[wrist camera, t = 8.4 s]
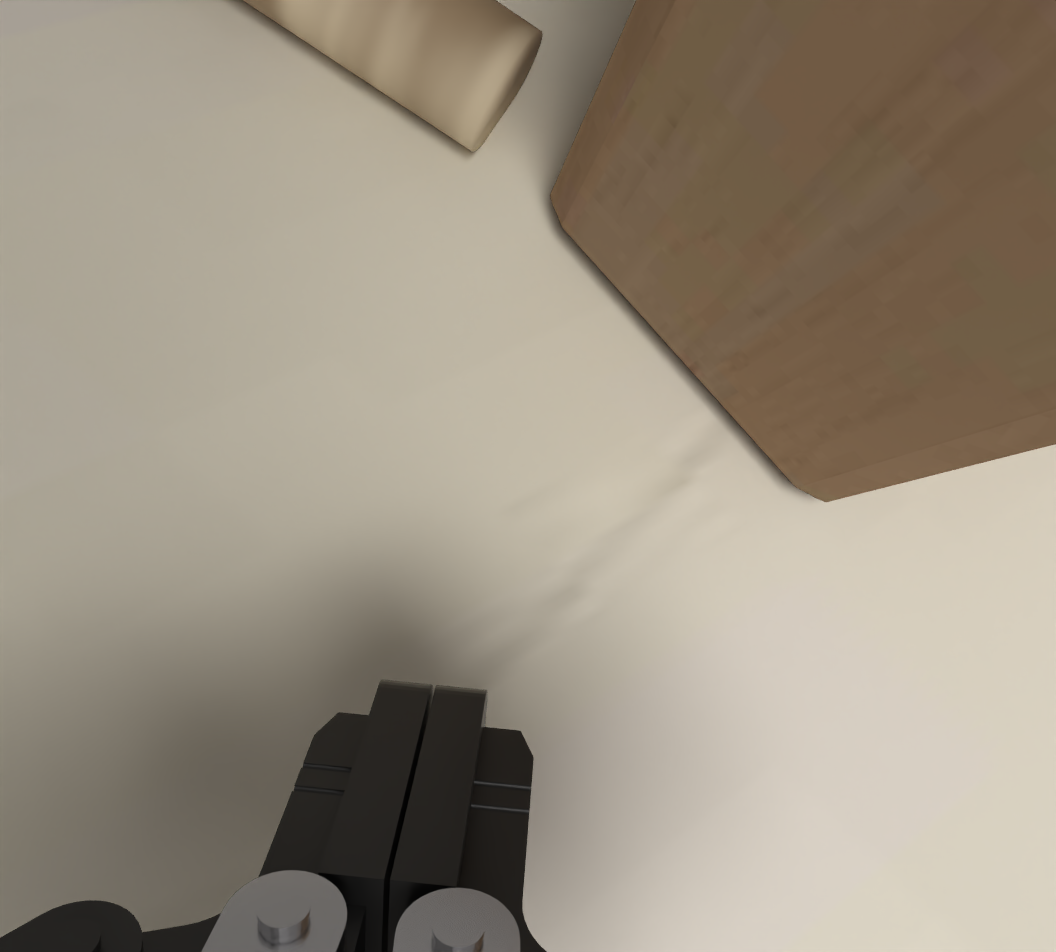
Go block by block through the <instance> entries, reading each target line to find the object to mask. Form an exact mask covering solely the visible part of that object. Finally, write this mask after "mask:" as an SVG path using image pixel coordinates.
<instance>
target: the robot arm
mask: <svg viewBox="0 0 1056 952" xmlns="http://www.w3.org/2000/svg"><path fill="white" fill-rule="evenodd" d="M486 707H487V690H479V689H469V688H459V687H450V686H440V685H437V686H436V688H435V691H434V695H433V685H428V684H418V683H408V682H399V681H389V680H381V681H380V683H379V686H378V689H377V692H376V695H375V698H374V701H373V705H372V708H371V711H370V714H369V715H359V714H349V713H340V712H339V713H338V714H336V715H335V716H334V717H333V718H332V719H331V720H330V721H329V722H328V723H327V724H326V725H325V726H323V727H322V728H321V729H320V730H319V731H318V732H317V733H316V734H315V735H314V737H313V740H312V742H311V745H310V747H309V750H308V752H307V755H306V758H305V760H304V764H303V768H301V770H300V773H299V775H298V778H297V781H296V783H295V788H294V791H292V793H291V796H290V798H289V801H288V804H287V806H286V809H285V811H284V814H283V816H282V819H281V821H280V824H279V827H278V829H277V832H276V834H275V837H274V839H273V842H272V844H271V847H270V850H269V852H268V855H267V857H266V860H265V862H264V865H263V867H262V870H261V873H260V875H259V877H258V878H256V879H254V880H252V881H250V882H249V883H247V884H246V885H244V886H243V887H241V888H240V889H239V890H238V891H237V892H236V893H235V894H234V895H233V896H232V897H231V898H230V899H229V901H228V902H227V904H226V905H225V907H224V909H223V911H222V913H221V914H218V915H216V916H214V917H212V918H210V919H207V920H204V921H201V922H198V923H194V924H189V925H184V926H179V927H173V928H167V929H161V930H155V931H149V932H143V933H142V930H141V928H140V925H139V922H138V921H137V920H136V918H135V917H134V915H132V914H131V913H130V912H129V911H128V910H127V909H125V908H123V907H121V906H119V905H116V904H113V903H110V902H105V901H80V902H74V903H70V904H66V905H62V906H60V907H57V908H54V909H52V910H50V911H48V912H46V913H44V914H42V915H40V916H38V917H36V918H34V919H33V920H31V921H29V922H27V923H26V924H24V925H22V926H20V927H19V928H17V929H15V930H13V931H12V932H10V933H8V934H6V935H5V936H3V937H1V938H0V952H546V951H545V950H544V949H543V948H542V947H541V946H540V945H539V944H538V943H537V941H536V940H535V939H534V938H533V936H532V935H531V933H530V931H529V930H528V927H527V925H526V922H525V920H524V916H523V911H522V897H523V885H524V872H525V859H526V846H527V834H528V821H529V808H530V796H531V783H532V770H533V755H532V753H531V751H530V749H529V747H528V745H527V743H526V741H525V739H524V737H523V735H522V733H521V731H517V730H507V729H497V728H488V727H485V720H486Z"/></svg>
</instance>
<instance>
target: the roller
mask: <svg viewBox="0 0 1056 952" xmlns="http://www.w3.org/2000/svg"><path fill="white" fill-rule="evenodd" d="M243 1H245V2H246V3H248V4H249V5H251V6H252V7H254V8H255V9H257V10H258V11H260V12H261V13H263V14H264V15H266V16H267V17H269V18H270V19H272V20H273V21H275V22H276V23H278V24H280V25H281V26H283V27H284V28H286V29H287V30H289V31H290V32H292V33H293V34H295V35H296V36H298V37H299V38H301V39H302V40H304V41H305V42H307V43H308V44H310V45H311V46H313V47H314V48H316V49H317V50H319V51H320V52H322V53H323V54H325V55H327V56H328V57H330V58H331V59H333V60H334V61H336V62H337V63H339V64H340V65H342V66H343V67H345V68H346V69H348V70H349V71H351V72H352V73H354V74H355V75H357V76H358V77H360V78H361V79H363V80H364V81H366V82H367V83H369V84H370V85H372V86H374V87H375V88H377V89H378V90H380V91H381V92H383V93H384V94H386V95H387V96H389V97H390V98H392V99H393V100H395V101H396V102H398V103H399V104H401V105H402V106H404V107H405V108H407V109H408V110H410V111H411V112H413V113H414V114H416V115H417V116H419V117H421V118H422V119H424V120H425V121H427V122H428V123H430V124H431V125H433V126H434V127H436V128H437V129H439V130H440V131H442V132H443V133H445V134H446V135H448V136H449V137H451V138H452V139H454V140H455V141H457V142H458V143H460V144H461V145H463V146H464V147H466V148H467V149H469V150H471V151H472V152H474V151H476V150H477V149H478V148H480V147H481V146H482V144H483V143H484V142H485V140H486V139H487V137H488V136H489V134H490V133H491V131H492V130H493V129H494V127H495V126H496V124H497V123H498V121H499V120H500V118H501V117H502V115H503V114H504V113H505V111H506V110H507V108H508V107H509V105H510V104H511V102H512V101H513V99H514V98H515V96H516V95H517V93H518V91H519V89H520V87H521V86H522V84H523V82H524V80H525V78H526V76H527V74H528V72H529V70H530V68H531V66H532V64H533V61H534V59H535V57H536V55H537V52H538V49H539V47H540V44H541V40H542V31H540V30H539V29H537V28H536V27H534V26H533V25H531V24H530V23H528V22H527V21H526V20H524V19H523V18H521V17H520V16H518V15H517V14H515V13H514V12H512V11H511V10H509V9H508V8H506V7H505V6H503V5H502V4H500V3H499V2H497V1H496V0H243Z"/></svg>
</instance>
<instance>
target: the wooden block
mask: <svg viewBox="0 0 1056 952" xmlns="http://www.w3.org/2000/svg"><path fill="white" fill-rule="evenodd" d="M550 197H551V200H552V204H553V207H554V209H555V211H556V213H557V215H558V218H559V221H560V223H561V226H562V227H563V229H564V230H565V231H566V232H567V233H568V234H569V236H570V237H571V238H572V239H573V240H574V241H575V242H576V243H577V244H578V246H579V247H580V248H581V249H582V250H583V251H584V252H585V253H586V254H587V256H588V257H589V258H590V259H591V260H592V261H593V262H594V263H595V264H596V266H597V267H598V268H599V269H600V270H601V271H602V272H603V273H604V274H605V276H606V277H607V278H608V279H609V280H610V281H611V282H612V283H613V284H614V286H615V287H616V288H617V289H618V290H619V291H620V292H621V293H622V295H623V296H624V297H625V298H626V299H627V300H628V301H629V302H630V303H631V305H632V306H633V307H634V308H635V309H636V310H637V311H638V312H639V313H640V315H641V316H642V317H643V318H644V319H645V320H646V321H647V322H648V323H649V325H650V326H651V327H652V328H653V329H654V330H655V331H656V332H657V333H658V335H659V336H660V337H661V338H662V339H663V340H664V341H665V342H666V343H667V345H668V346H669V347H670V348H671V349H672V350H673V351H674V352H675V353H676V355H677V356H678V357H679V358H680V359H681V360H682V361H683V362H684V364H685V365H686V366H687V367H688V368H689V369H690V370H691V371H692V372H693V374H694V375H695V376H696V377H697V378H698V379H699V380H700V381H701V382H702V384H703V385H704V386H705V387H706V388H707V389H708V390H709V391H710V392H711V394H712V395H713V396H714V397H715V398H716V399H717V400H718V401H719V402H720V404H721V405H722V406H723V407H724V408H725V409H726V410H727V411H728V412H729V414H730V415H731V416H732V417H733V418H734V419H735V420H736V421H737V422H738V424H739V425H740V426H741V427H742V428H743V429H744V430H745V431H746V433H747V434H748V435H749V436H750V437H751V438H752V439H753V440H754V441H755V443H756V444H757V445H758V446H759V447H760V448H761V449H762V450H763V451H764V453H765V454H766V455H767V456H768V457H769V458H770V459H771V460H772V461H773V463H774V464H775V465H776V466H777V467H778V468H779V469H780V470H781V471H782V473H783V474H784V475H785V476H786V477H787V478H788V479H789V480H790V481H791V483H792V484H793V485H794V486H795V487H796V488H798V489H800V490H802V491H804V492H806V493H808V494H810V495H812V496H813V497H815V498H817V499H820V500H822V501H824V502H829V501H833V500H837V499H841V498H845V497H849V496H853V495H857V494H860V493H864V492H868V491H872V490H876V489H880V488H884V487H888V486H892V485H896V484H900V483H904V482H908V481H912V480H916V479H920V478H924V477H928V476H932V475H935V474H939V473H943V472H947V471H951V470H955V469H959V468H963V467H967V466H971V465H975V464H979V463H983V462H987V461H991V460H995V459H999V458H1003V457H1007V456H1010V455H1014V454H1018V453H1022V452H1026V451H1030V450H1034V449H1038V448H1042V447H1046V446H1050V445H1054V444H1056V0H636V2H635V4H634V6H633V9H632V11H631V13H630V16H629V18H628V20H627V22H626V25H625V27H624V29H623V31H622V34H621V36H620V38H619V40H618V43H617V45H616V47H615V49H614V52H613V54H612V56H611V58H610V61H609V63H608V65H607V68H606V70H605V72H604V74H603V77H602V79H601V81H600V83H599V86H598V88H597V90H596V92H595V95H594V97H593V99H592V101H591V104H590V106H589V108H588V110H587V113H586V115H585V117H584V120H583V122H582V124H581V126H580V129H579V131H578V133H577V135H576V138H575V140H574V142H573V144H572V147H571V149H570V151H569V153H568V156H567V158H566V160H565V162H564V165H563V167H562V169H561V172H560V174H559V176H558V178H557V181H556V183H555V185H554V187H553V190H552V192H551V194H550Z"/></svg>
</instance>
